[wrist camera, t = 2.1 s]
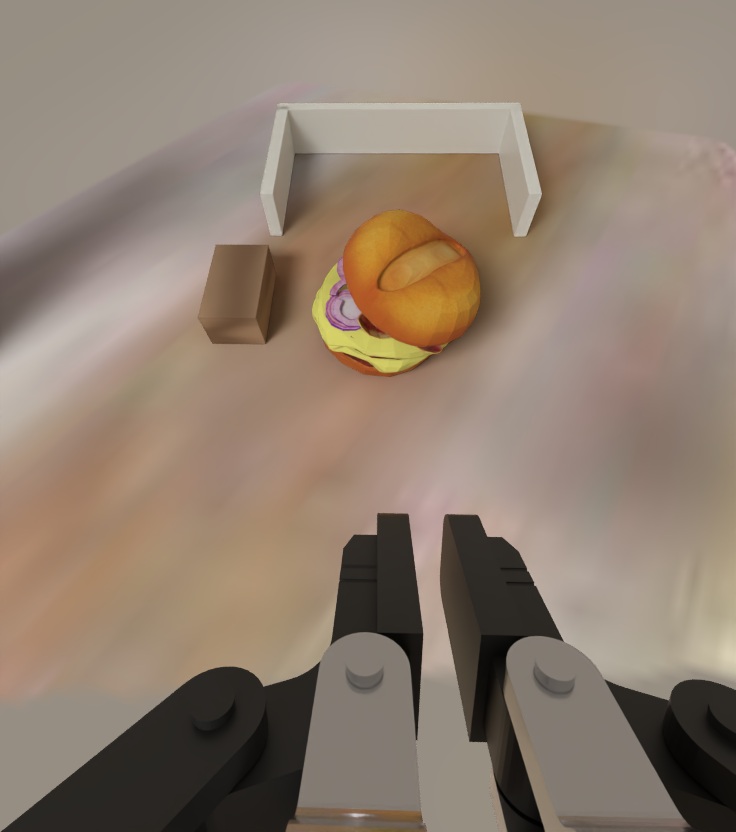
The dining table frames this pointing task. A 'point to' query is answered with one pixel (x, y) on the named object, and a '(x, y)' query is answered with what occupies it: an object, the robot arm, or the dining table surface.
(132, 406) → the dining table surface
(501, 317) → the dining table surface
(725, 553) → the dining table surface
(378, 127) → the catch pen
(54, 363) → the dining table surface
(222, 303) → the cardboard carton
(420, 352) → the cheeseburger
